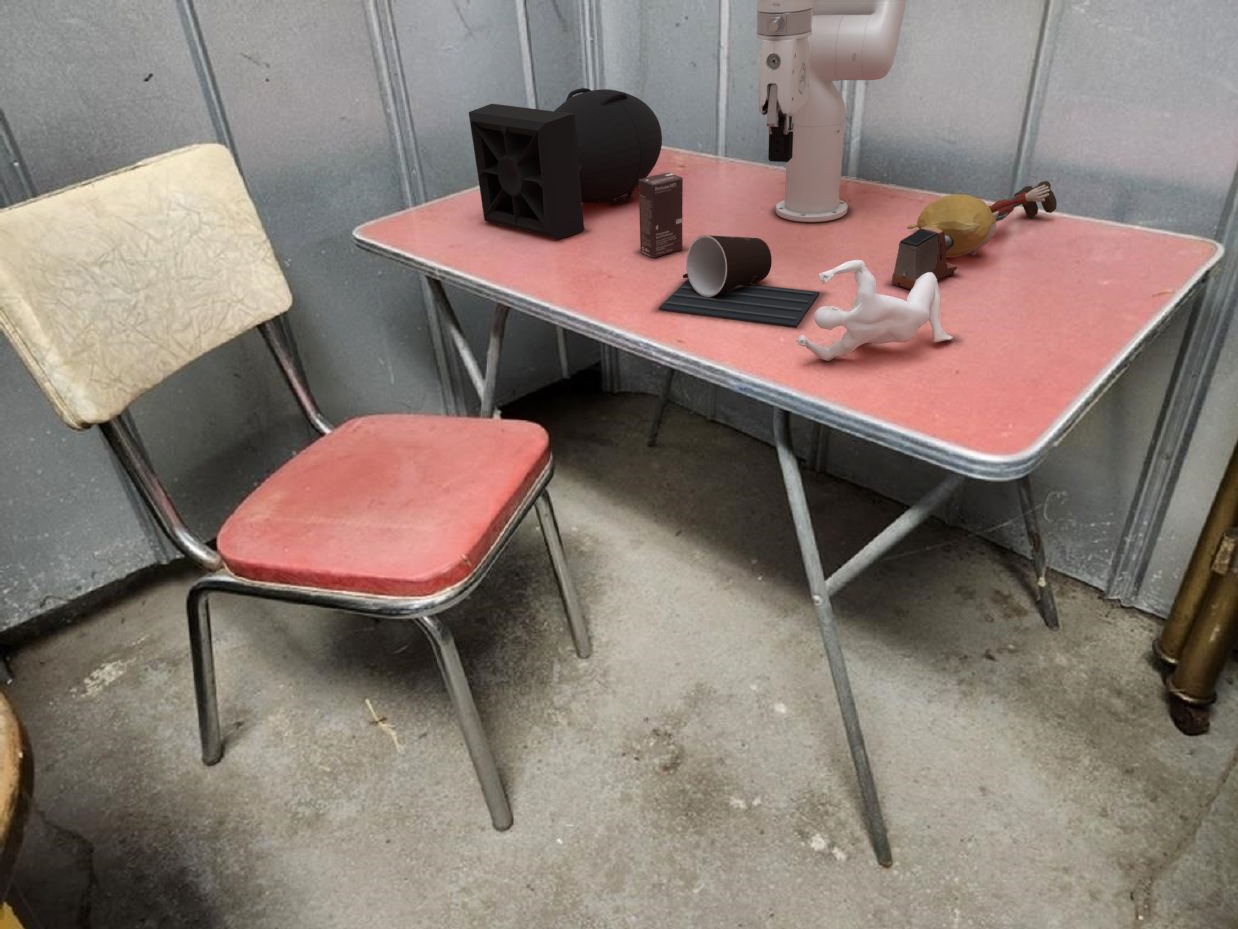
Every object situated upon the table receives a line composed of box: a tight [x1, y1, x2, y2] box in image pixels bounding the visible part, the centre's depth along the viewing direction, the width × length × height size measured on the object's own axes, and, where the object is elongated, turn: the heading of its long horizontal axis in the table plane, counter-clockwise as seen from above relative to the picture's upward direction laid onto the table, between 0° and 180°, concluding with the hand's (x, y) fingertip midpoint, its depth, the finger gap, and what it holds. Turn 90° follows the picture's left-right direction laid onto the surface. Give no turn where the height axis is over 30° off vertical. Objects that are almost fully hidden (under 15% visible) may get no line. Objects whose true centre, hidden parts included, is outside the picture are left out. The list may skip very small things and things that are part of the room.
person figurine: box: [796, 259, 954, 362], centre depth 106 cm, size 13×13×18 cm
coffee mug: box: [682, 234, 773, 297], centre depth 128 cm, size 12×9×10 cm
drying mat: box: [658, 278, 820, 328], centre depth 125 cm, size 12×20×1 cm, turn 65°
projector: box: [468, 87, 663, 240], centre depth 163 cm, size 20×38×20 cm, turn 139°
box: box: [638, 172, 684, 258], centre depth 141 cm, size 6×4×12 cm
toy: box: [906, 180, 1058, 258], centre depth 137 cm, size 22×10×30 cm
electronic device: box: [891, 226, 958, 291], centre depth 125 cm, size 4×10×8 cm, turn 126°
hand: (780, 159), depth 130 cm, fingers closed
